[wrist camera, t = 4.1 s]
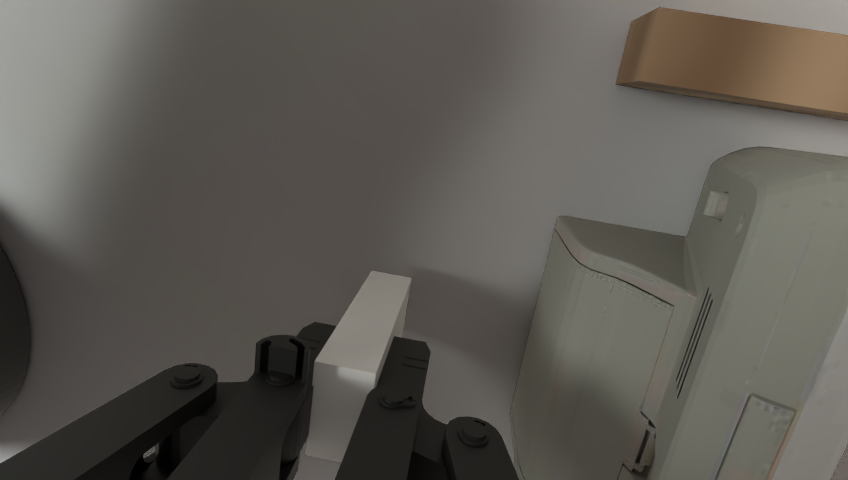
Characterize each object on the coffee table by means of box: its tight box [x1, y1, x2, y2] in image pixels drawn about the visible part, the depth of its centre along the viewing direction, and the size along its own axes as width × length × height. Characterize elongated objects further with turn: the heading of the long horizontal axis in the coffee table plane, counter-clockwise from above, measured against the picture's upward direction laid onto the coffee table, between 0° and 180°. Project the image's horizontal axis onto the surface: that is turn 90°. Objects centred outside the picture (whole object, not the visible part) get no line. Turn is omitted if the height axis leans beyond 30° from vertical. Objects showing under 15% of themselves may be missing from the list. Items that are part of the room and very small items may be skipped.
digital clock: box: [509, 147, 848, 480], centre depth 14 cm, size 16×9×11 cm, turn 160°
